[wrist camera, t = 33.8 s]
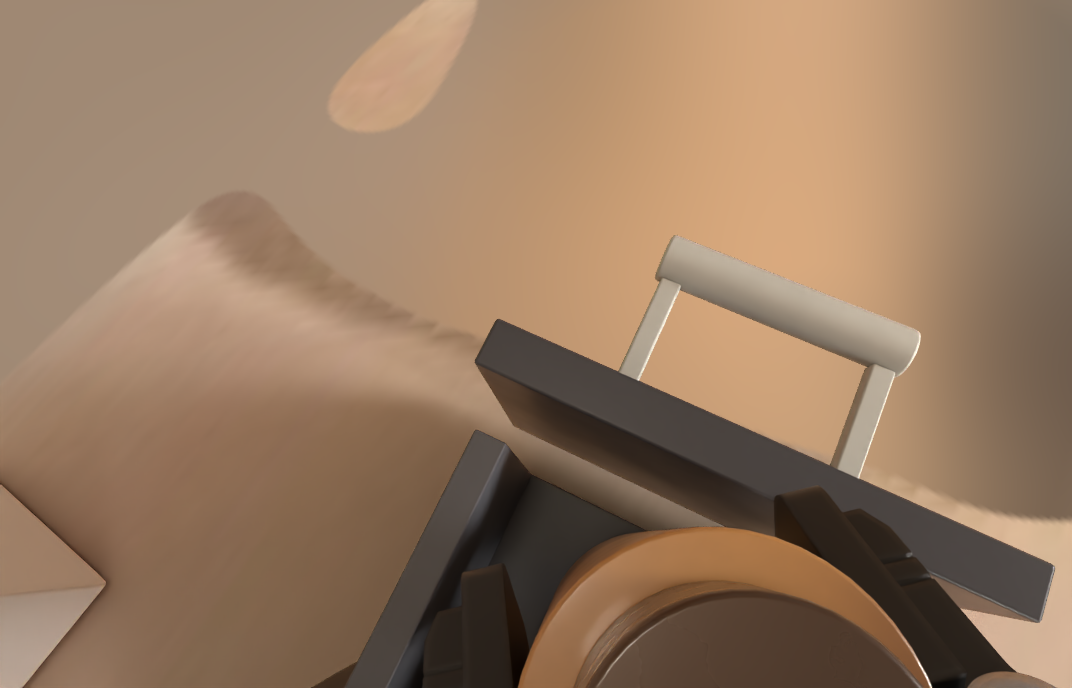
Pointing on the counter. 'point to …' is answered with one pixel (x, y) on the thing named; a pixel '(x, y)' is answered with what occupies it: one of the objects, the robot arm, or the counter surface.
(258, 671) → the counter surface
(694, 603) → the pepper mill
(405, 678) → the drawer
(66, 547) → the milk carton
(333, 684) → the small drawer unit
